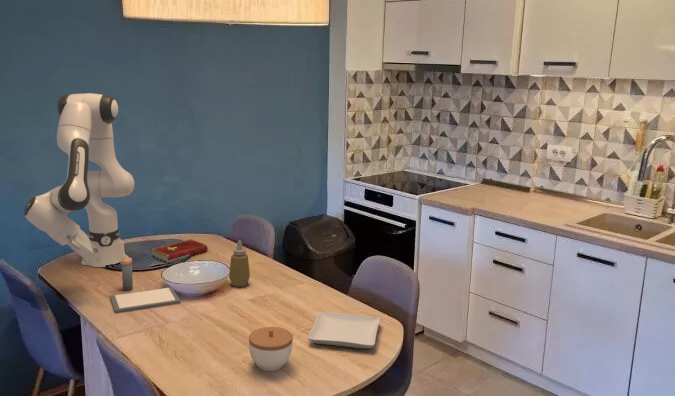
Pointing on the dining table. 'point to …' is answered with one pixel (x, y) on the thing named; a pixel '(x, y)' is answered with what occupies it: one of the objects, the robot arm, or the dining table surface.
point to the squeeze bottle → (239, 267)
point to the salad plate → (344, 330)
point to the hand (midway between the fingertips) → (98, 256)
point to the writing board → (144, 299)
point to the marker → (127, 274)
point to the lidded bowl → (270, 347)
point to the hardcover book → (181, 249)
